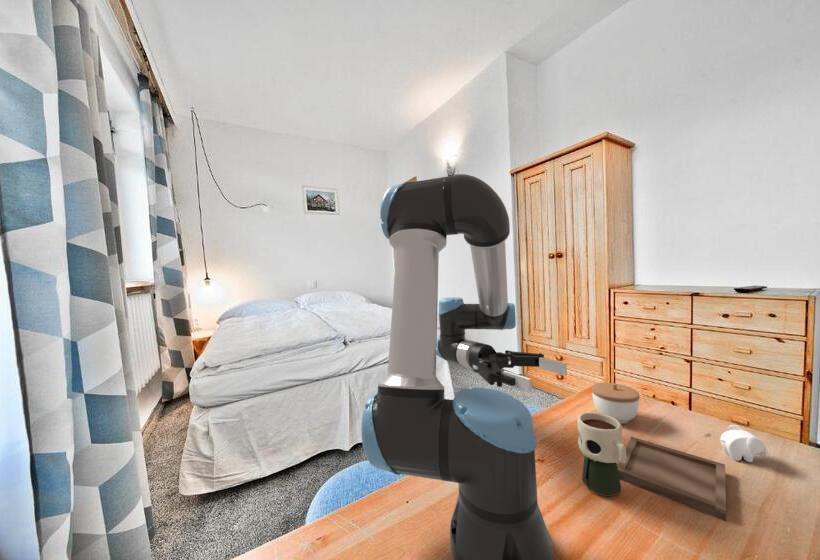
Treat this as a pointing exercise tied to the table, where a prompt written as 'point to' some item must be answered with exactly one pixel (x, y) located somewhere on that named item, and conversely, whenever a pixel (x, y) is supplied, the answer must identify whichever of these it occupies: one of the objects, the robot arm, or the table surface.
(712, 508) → the walnut tray
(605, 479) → the character mug
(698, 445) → the table surface
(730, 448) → the elephant figurine
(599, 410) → the lidded jar
